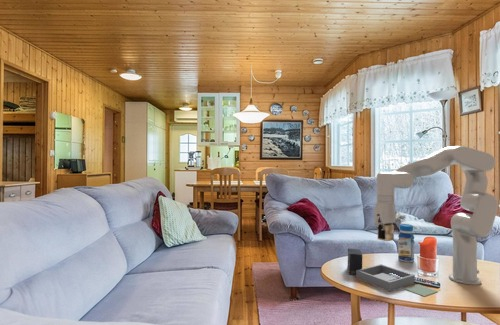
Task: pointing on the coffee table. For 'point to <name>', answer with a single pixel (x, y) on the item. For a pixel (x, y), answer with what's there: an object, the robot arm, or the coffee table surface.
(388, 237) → the birch block
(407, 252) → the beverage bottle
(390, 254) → the coffee table surface
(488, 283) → the coffee table surface
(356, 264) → the small box
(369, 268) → the gray square tray
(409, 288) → the mat
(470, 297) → the coffee table surface
